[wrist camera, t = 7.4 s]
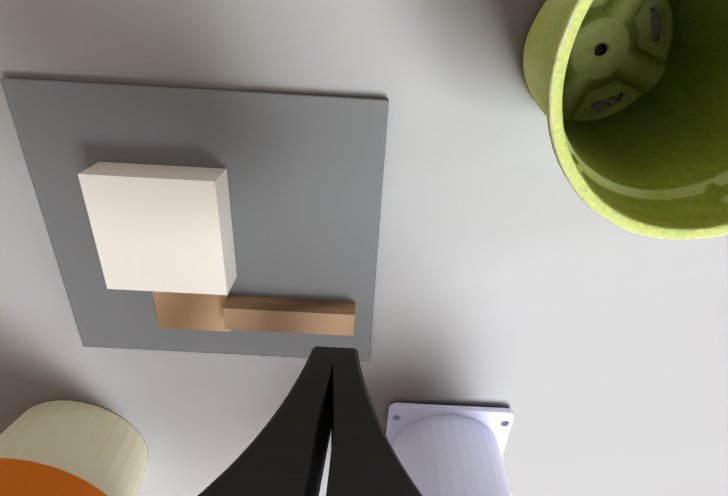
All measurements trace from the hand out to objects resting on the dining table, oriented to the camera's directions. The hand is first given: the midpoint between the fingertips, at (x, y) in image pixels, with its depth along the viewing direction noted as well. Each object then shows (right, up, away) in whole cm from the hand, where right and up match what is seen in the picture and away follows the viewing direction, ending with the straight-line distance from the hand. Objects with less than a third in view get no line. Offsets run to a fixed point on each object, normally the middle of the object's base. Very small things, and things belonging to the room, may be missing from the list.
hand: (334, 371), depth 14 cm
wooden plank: (-5, +1, +11) cm, 12 cm away
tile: (-6, +5, +8) cm, 11 cm away
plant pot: (+11, +12, +5) cm, 17 cm away
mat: (-7, +4, +10) cm, 13 cm away
